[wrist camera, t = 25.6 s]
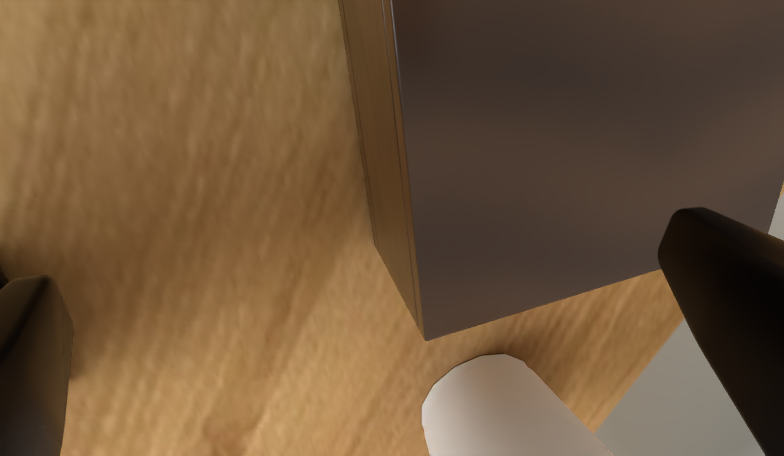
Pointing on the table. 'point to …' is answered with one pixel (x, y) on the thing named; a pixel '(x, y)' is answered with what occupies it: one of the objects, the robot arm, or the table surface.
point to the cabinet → (556, 139)
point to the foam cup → (502, 414)
